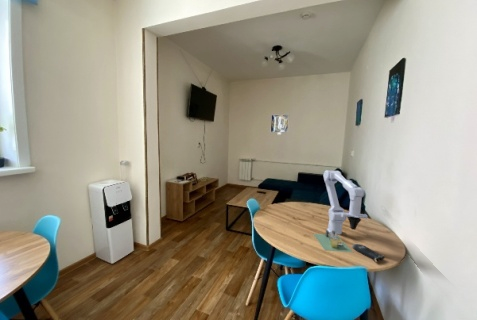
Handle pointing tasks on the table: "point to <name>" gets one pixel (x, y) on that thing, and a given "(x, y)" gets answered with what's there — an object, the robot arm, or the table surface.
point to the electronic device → (367, 252)
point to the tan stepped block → (335, 242)
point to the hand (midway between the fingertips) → (352, 228)
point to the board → (325, 243)
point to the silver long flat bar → (334, 237)
